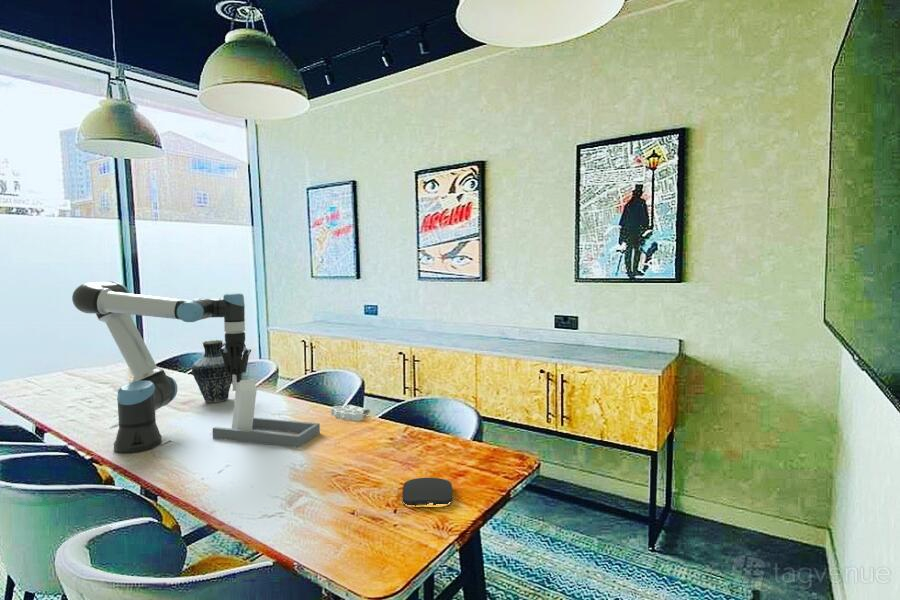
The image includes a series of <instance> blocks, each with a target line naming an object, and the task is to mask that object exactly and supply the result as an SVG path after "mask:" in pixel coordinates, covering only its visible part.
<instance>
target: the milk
mask: <svg viewBox="0 0 900 600" xmlns="http://www.w3.org/2000/svg"><path fill="white" fill-rule="evenodd" d="M257 389H258V388H257V386H256V384H255V379H254V378H253V379H252V378H251V379H244V380H243V379H242V380H240V383H239V385H237V386H236V391H235V395H234V405H233V414H232V423H231V429H240V430H250V431H253V428H252V426H253V417H254V416H255V415H254V414H255V408H256V407H255V405H256V399H257V398H256V397H257V392H258V391H257ZM254 418H255V417H254Z"/></svg>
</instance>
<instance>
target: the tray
mask: <svg viewBox="0 0 900 600" xmlns="http://www.w3.org/2000/svg"><path fill="white" fill-rule="evenodd" d="M320 426H321V424H320V423H318V422H307V421H296V420H288V419H287V420H285V419H284V420H283V419H273V418H265V417H253V426H252V429H259V430H270V431H279V432H269V431H259V430H252V431H250V430H240V429H232V428H229V427H218V426H214V427H212V439H215V440H216V439H218V440H225V439H226V440H225V441H235V440H236V442H247V443H256V444H264V445H274V446H282V445H284V447H291V446H296V447H295V448H300V447H301V446H303V445H305V444H306V443H307V442H309V441H310V440H312V439H313V438H315V437H317V436H318V435H319V434H321V433H320V431H321V430H320V428H321V427H320ZM280 431H281V432H288V431H290V432H289V434H288V433H280ZM298 432H301V433H298ZM291 433H298V434H291ZM317 434H318V435H317ZM314 436H315V437H314ZM308 440H309V441H308ZM302 444H303V445H302ZM299 446H300V447H299Z"/></svg>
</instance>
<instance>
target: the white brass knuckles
mask: <svg viewBox="0 0 900 600" xmlns="http://www.w3.org/2000/svg"><path fill="white" fill-rule="evenodd" d="M370 413H371V410H370V409H369V408H364V407H360V406H357V405H353V404H346V405H334V406H332V407H331V408H330V415H331V416H333V417H335V418H336V419H341V420H344V421H352V422H357V421H358V422H359V421H362V420H364V417H365V416H368V415H369V414H370Z"/></svg>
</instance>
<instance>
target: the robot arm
mask: <svg viewBox="0 0 900 600" xmlns="http://www.w3.org/2000/svg"><path fill="white" fill-rule="evenodd" d="M71 299H72V300H71V301H72V303H73V306H74V307H75V308H76V309H77V310H79V311H80V312H82V313H85V314H89V315H90V314H91V315H92V314H95V315H96V317H97V320H98V321H99V322H103V323H105V324H106V326H107V328H108V330H109V333H110V334H111V336H112V338H113V339H114V342H115V344H116V345H117V347H118V349H119V352H120V353H121V356H122V357H123V359H124V361H125V363H126V364H127V367H128V369H129V371H130V372H131V374H132V376H133V380H132V382H127V383H126V384H123V385H121V386H120V387H119V388H118V390H117V396H116V400H117V412H118V417H117V418H118V429H117V433H116V437H115V440H114V442H113V450H114V452H116V453H121V454H129V453H130V454H131V453H140V452H145V451H147V450H148V451H149V450H151V449H155V448H157V447H158V446H160V445H161V444H162V443H163V440H162V434H161V433H160V430H159V428H158V425H157V422H156V421H157V420H156V411H157V410H159V409H161V408H162V407H165V406H166V405H169V404H170V403H171V402H172V401H174V399H175V398H176V396H177V395H178V384H177V381H176V380H175V379H174V378H173V377H172V376H169V375H167V374H166V372H165V370H164V369H163V368H160V367H158V366H157V364H156V362H155V360H154V358H153V357H152V355H151V352H150V350H149V348H148V347H147V345H146V343H145V341H144V339H143V338H142V335H141V333H140V331H139V329H138V328H137V327H138V326H136V324H135V322H134V320H133V317H132V316H131V315H136V316H144V317H153V318H163V319H164V318H165V319H170V320H171V319H173V320H179V321H180V320H181V321H182V322H185V323H195V322H198V321H202V320H205V319H210V318H223V319H224V320H223V321H224V323H223V324H224V325H223V326H224V327H223V328H224V332H225V333H224V341H225V342H226V345H225V346H223V347H222V349H220V352H221V354H222V356H223V361H224V365H225V369H226V372H227V373H230V374H231V383H232V391H233V392H236V386H237V385H239V383H240V380H243V379H242V374H243V373H246V372H247V367H248V362H249V357H250V354H251V352H252V349H250V348H249V349H248V348H247V347H246V343H245V342H246V332H245V331H246V322H245V319H246V318H245V315H246V314H245V313H246V312H245V309H246V307H245V306H246V305H245V296H244V294H242V293H238V292H237V293H235V292H234V293H224V294H223V297H222V298H203V297H202V298H195V299H193V300H189V299H179V298H170V297H162V296H155V295H154V296H153V295H144V294H137V293H136V294H135V293H131V292H130V290H129V288H128V287H126V286H125V285H124V284H123V283H120V282H117V281H111V280H109V281H108V280H107V281H98V282H86V283H83V284H80V285H79V286H78V287H76V289H74V291H73V292H72V298H71Z"/></svg>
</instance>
